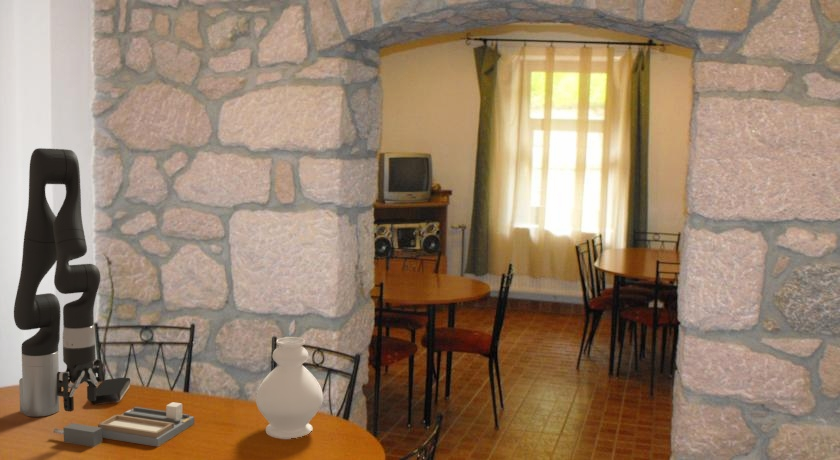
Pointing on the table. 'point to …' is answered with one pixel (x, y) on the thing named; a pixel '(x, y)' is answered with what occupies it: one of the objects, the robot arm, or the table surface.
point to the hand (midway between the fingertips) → (80, 405)
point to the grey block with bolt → (81, 434)
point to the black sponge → (111, 390)
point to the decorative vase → (289, 392)
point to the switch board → (144, 426)
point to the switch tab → (174, 411)
